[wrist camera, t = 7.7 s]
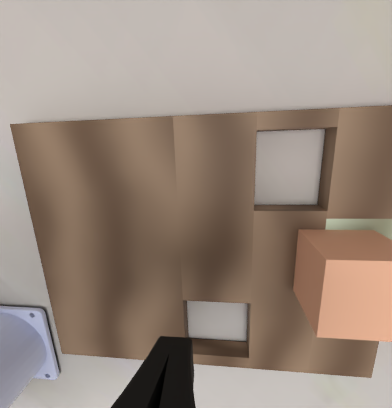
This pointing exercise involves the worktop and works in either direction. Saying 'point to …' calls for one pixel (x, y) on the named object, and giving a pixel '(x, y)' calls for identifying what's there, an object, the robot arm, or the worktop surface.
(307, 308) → the block
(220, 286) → the trap deck
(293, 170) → the worktop surface
